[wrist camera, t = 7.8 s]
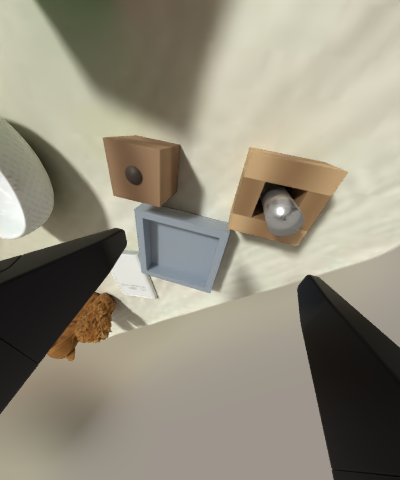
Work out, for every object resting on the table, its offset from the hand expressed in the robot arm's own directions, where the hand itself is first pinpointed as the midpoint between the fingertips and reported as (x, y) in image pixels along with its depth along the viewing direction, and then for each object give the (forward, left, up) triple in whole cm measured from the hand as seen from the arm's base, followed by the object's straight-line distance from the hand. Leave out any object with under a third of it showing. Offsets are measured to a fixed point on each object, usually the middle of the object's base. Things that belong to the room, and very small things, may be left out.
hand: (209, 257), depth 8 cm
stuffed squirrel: (+24, +36, -13) cm, 45 cm away
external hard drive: (+14, +21, -13) cm, 29 cm away
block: (+8, 0, -13) cm, 15 cm away
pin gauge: (-5, 0, -12) cm, 13 cm away
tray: (+4, +11, -12) cm, 17 cm away
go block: (-5, 0, -12) cm, 13 cm away
